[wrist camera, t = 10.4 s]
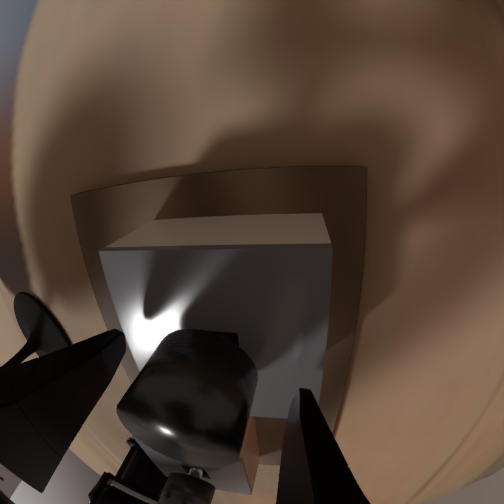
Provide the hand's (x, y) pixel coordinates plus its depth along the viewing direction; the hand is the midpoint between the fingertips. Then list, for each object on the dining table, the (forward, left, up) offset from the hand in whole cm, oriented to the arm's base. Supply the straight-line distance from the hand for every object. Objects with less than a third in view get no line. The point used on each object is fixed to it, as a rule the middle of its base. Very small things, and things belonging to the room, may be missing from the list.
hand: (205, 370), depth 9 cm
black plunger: (0, 0, -5) cm, 5 cm away
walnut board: (-2, -7, -6) cm, 9 cm away
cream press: (0, 0, -6) cm, 6 cm away
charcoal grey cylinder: (-4, -14, -5) cm, 15 cm away
